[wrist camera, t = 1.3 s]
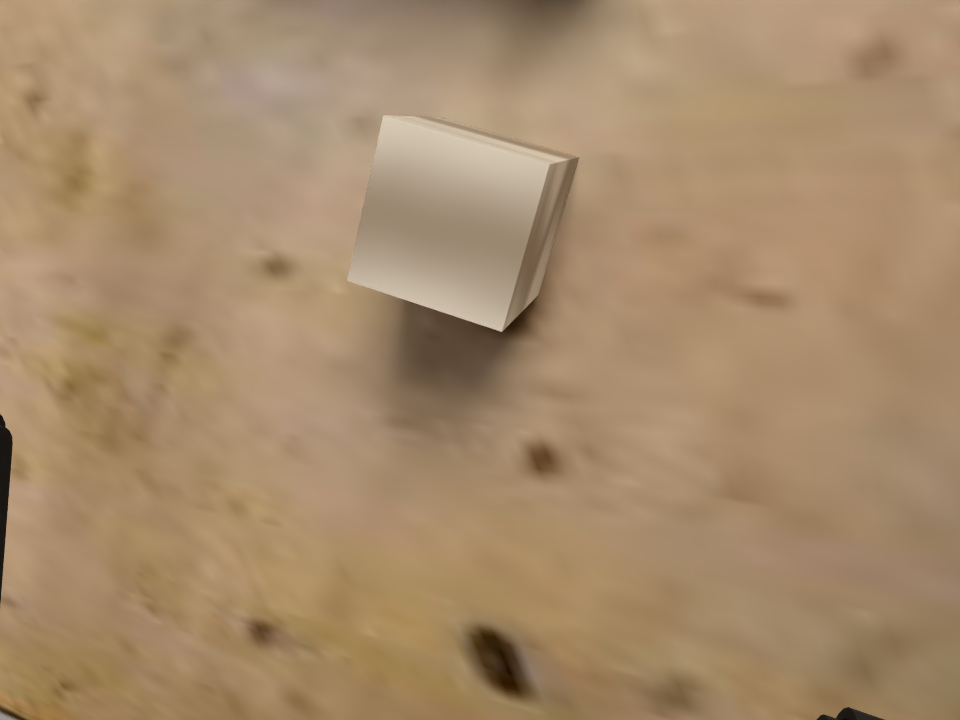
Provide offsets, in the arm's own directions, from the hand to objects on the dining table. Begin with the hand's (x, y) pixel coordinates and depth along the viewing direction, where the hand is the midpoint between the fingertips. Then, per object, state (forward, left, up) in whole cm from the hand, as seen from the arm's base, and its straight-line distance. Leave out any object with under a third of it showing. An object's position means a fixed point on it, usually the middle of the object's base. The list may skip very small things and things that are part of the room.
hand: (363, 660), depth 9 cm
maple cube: (-2, -4, -22) cm, 23 cm away
